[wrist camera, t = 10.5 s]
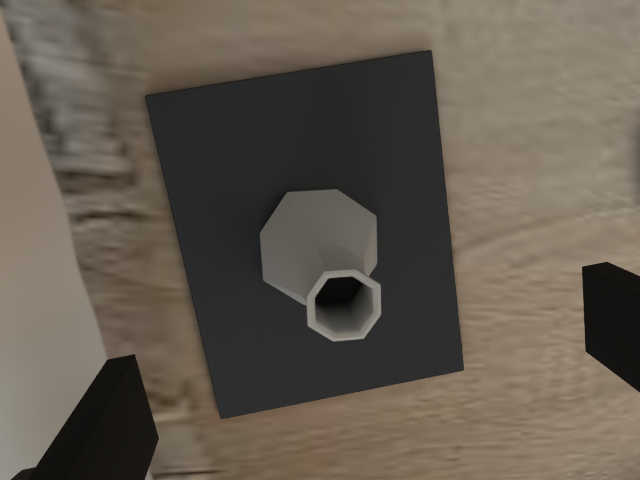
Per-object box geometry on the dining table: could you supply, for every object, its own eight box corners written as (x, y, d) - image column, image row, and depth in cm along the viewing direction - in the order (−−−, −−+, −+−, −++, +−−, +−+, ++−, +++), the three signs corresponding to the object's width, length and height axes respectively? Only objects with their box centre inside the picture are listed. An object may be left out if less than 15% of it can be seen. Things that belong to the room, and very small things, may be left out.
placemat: (427, 51, 29) (432, 49, 29) (460, 365, 34) (464, 370, 33) (147, 96, 28) (144, 95, 28) (221, 413, 33) (220, 420, 32)
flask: (275, 172, 29) (281, 197, 20) (394, 204, 30) (455, 243, 21) (244, 289, 31) (235, 367, 21) (359, 316, 32) (400, 402, 22)
